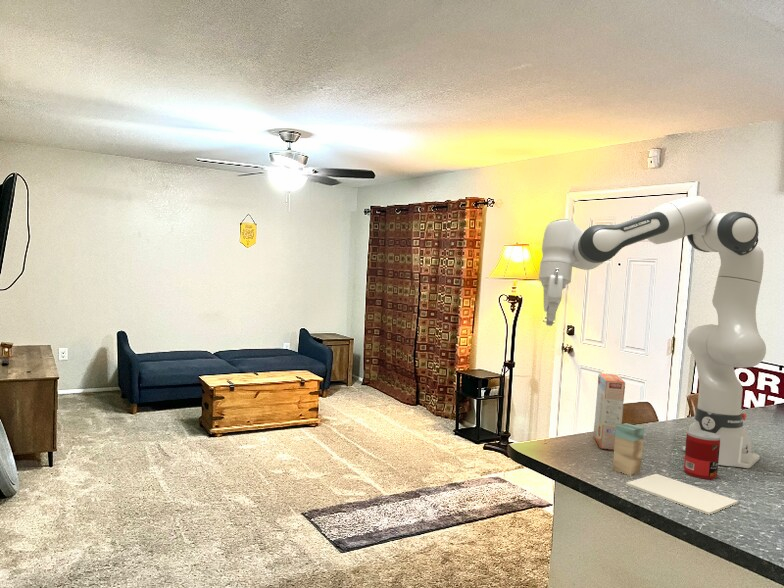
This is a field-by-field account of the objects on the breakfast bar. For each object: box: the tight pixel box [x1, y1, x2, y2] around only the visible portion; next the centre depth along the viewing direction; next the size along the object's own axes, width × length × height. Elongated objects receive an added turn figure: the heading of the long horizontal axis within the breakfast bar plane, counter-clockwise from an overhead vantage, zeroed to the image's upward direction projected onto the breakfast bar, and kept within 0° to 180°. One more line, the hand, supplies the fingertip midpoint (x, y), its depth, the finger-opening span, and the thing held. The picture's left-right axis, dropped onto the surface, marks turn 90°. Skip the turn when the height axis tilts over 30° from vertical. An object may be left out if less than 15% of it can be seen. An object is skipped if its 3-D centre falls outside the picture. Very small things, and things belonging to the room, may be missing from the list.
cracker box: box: [592, 372, 626, 451], centre depth 179 cm, size 14×6×21 cm, turn 168°
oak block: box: [612, 422, 645, 476], centre depth 154 cm, size 5×5×12 cm
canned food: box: [683, 430, 720, 480], centre depth 155 cm, size 8×8×11 cm
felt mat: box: [625, 473, 739, 516], centre depth 139 cm, size 14×20×1 cm
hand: (550, 323), depth 163 cm, fingers open, 8 cm apart
